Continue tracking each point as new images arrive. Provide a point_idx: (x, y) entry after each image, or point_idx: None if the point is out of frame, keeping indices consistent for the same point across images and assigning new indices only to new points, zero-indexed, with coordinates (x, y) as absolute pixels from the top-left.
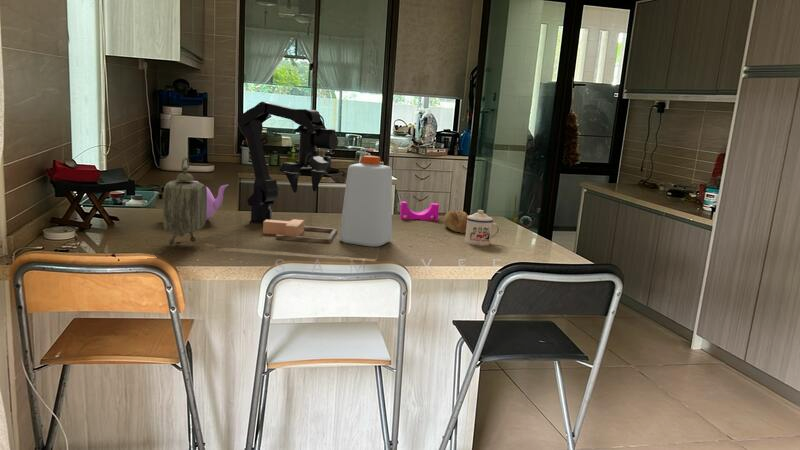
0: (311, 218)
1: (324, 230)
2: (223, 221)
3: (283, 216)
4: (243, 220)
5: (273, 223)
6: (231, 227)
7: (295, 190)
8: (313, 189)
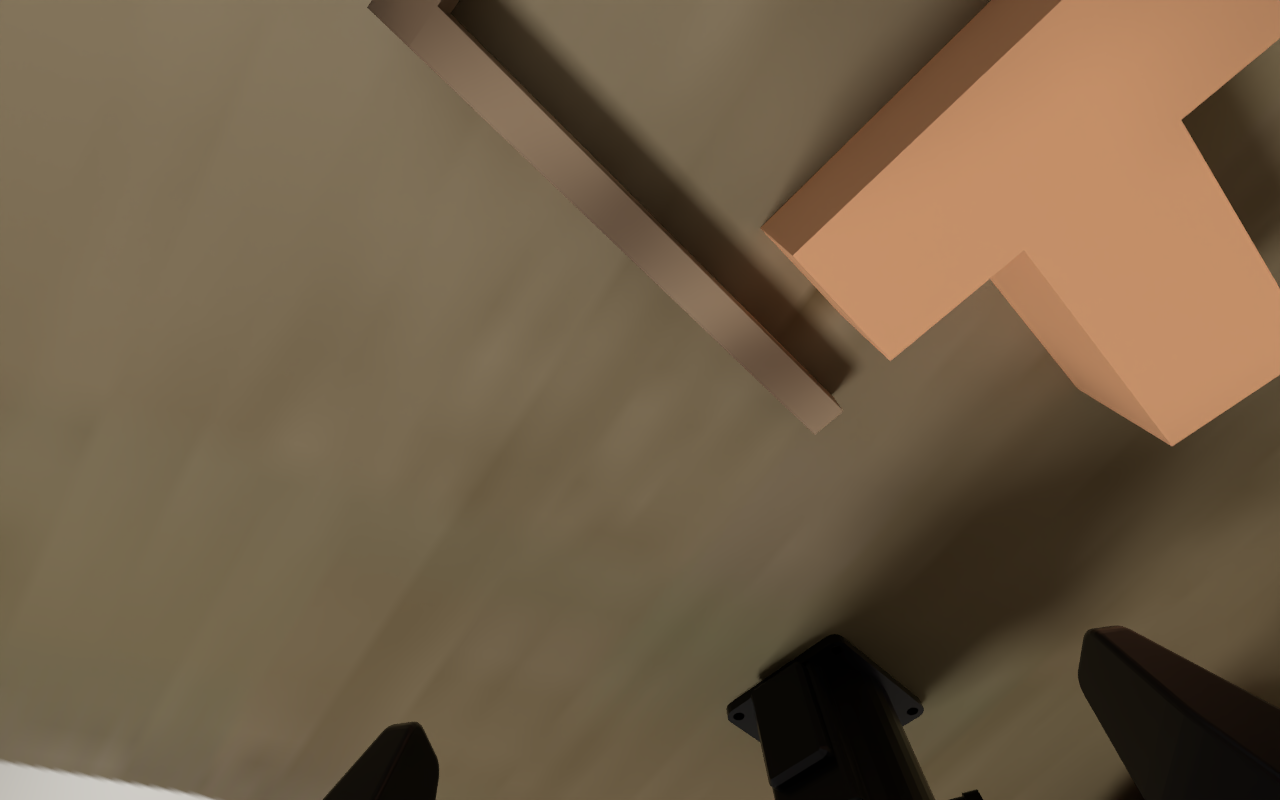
0: (347, 689)
1: (540, 106)
2: (1064, 761)
3: (542, 789)
4: (915, 754)
5: (1250, 259)
6: (1193, 595)
7: (1191, 665)
8: (425, 795)
